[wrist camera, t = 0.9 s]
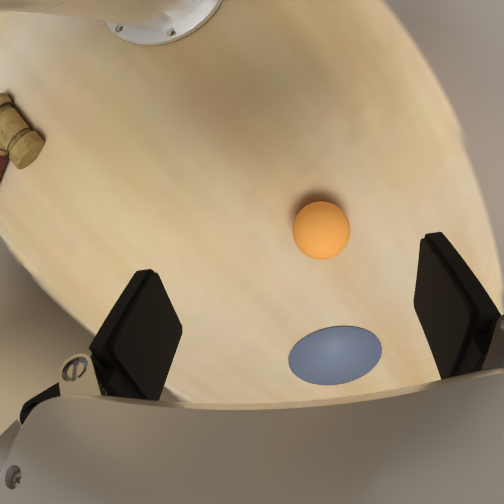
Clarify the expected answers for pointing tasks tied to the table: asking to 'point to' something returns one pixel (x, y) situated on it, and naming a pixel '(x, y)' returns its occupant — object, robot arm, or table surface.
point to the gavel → (16, 137)
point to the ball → (321, 230)
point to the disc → (335, 355)
